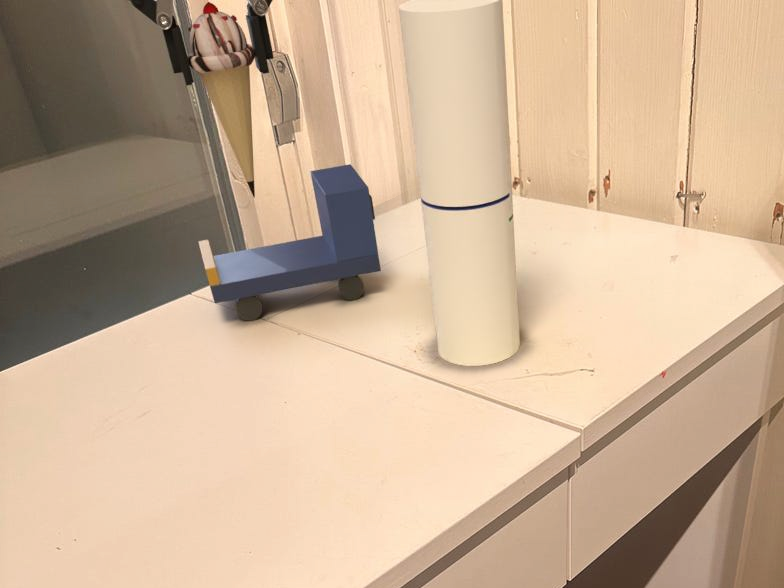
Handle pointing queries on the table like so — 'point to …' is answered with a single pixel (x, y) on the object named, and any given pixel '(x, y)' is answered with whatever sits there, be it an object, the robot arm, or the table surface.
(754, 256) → the table surface
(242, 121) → the ice cream cone
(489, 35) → the cylindrical container
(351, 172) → the flatbed truck
